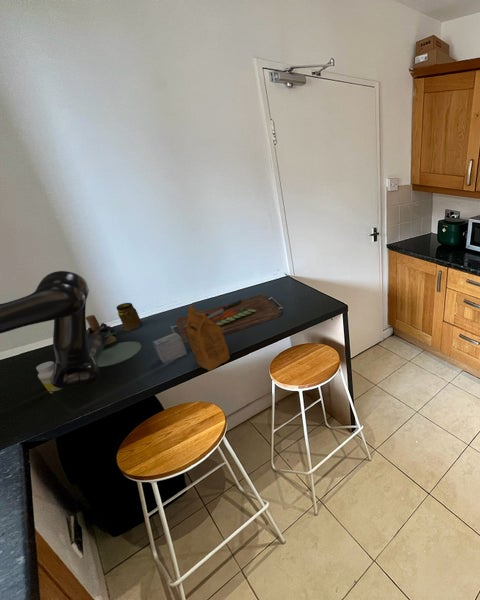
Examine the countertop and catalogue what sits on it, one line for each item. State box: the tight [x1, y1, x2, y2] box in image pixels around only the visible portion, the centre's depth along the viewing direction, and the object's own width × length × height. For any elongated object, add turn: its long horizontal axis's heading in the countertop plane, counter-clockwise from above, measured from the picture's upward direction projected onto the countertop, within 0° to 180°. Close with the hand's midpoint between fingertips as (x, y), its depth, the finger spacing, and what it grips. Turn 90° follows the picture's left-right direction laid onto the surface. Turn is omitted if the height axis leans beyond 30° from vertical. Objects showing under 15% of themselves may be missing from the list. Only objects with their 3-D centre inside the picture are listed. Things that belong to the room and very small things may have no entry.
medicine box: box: [151, 332, 188, 365], centre depth 117 cm, size 8×4×9 cm, turn 145°
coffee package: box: [187, 305, 231, 371], centre depth 113 cm, size 10×12×22 cm
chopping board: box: [169, 294, 285, 345], centre depth 145 cm, size 45×27×3 cm, turn 130°
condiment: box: [116, 302, 144, 332], centre depth 135 cm, size 7×8×12 cm
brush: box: [85, 314, 119, 350], centre depth 120 cm, size 7×3×14 cm, turn 151°
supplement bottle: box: [35, 360, 64, 394], centre depth 102 cm, size 5×5×10 cm
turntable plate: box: [97, 341, 142, 368], centre depth 120 cm, size 16×16×1 cm
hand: (98, 326), depth 122 cm, fingers closed on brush, 2 cm apart
